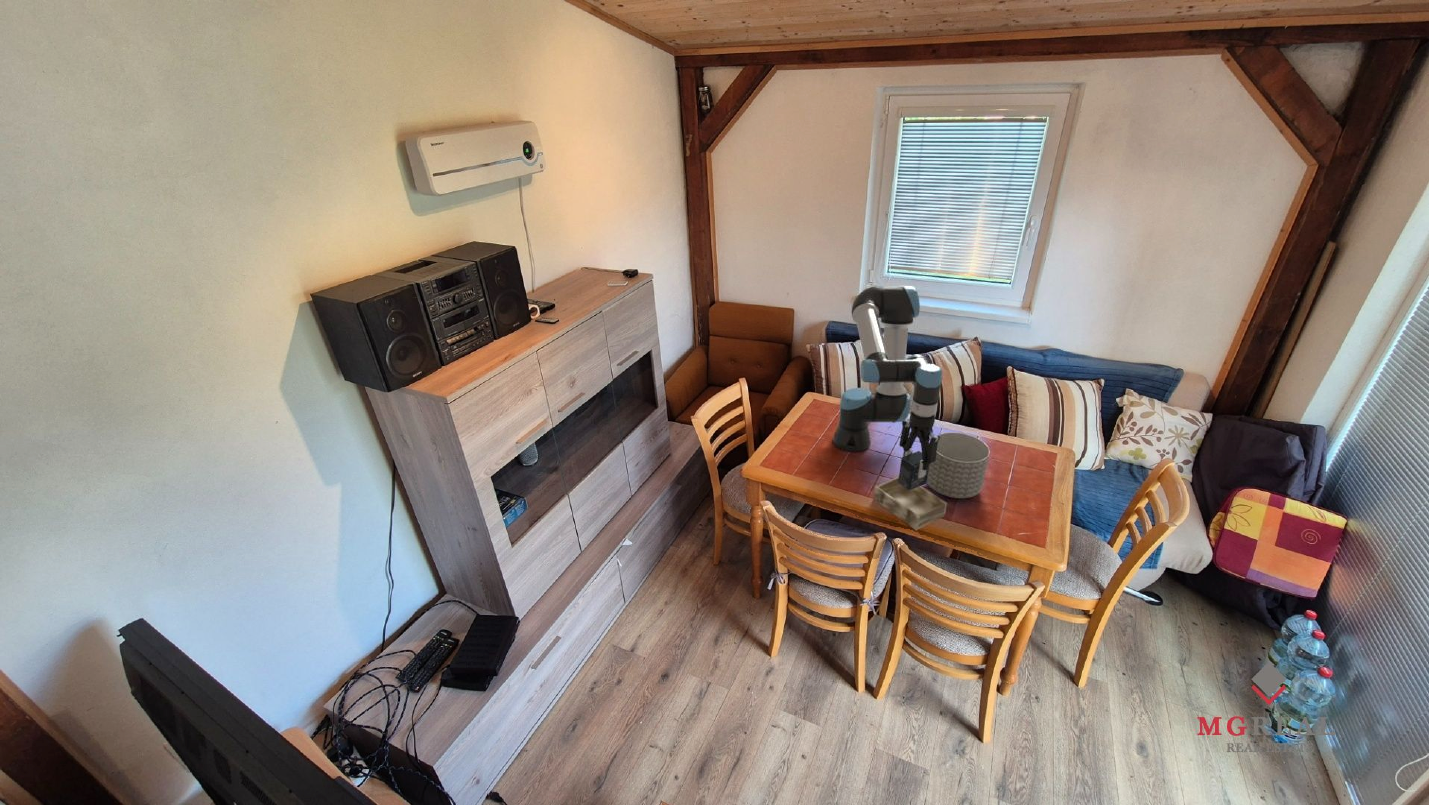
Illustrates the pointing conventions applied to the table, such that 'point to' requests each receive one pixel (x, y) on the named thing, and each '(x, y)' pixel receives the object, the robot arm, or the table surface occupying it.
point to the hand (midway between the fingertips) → (914, 471)
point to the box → (911, 471)
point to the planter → (958, 465)
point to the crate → (910, 503)
